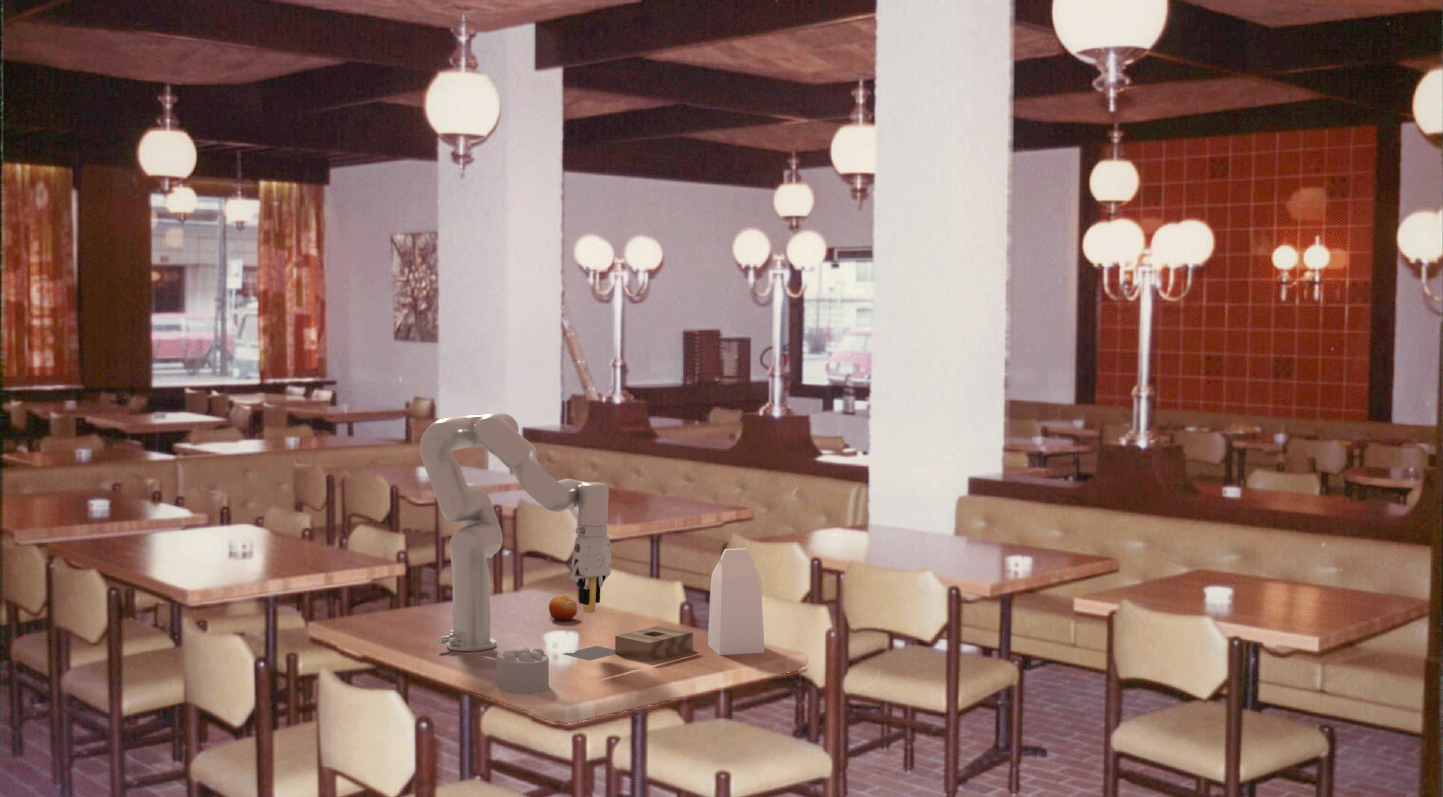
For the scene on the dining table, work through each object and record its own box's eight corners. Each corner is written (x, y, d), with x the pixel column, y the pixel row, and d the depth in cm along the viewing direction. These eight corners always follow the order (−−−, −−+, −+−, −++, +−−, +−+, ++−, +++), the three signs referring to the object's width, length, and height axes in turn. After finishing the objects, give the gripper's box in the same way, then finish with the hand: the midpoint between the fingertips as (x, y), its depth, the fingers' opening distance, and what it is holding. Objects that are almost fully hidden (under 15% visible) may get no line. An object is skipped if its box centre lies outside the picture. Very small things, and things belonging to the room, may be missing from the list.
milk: (719, 655, 332) (719, 553, 331) (707, 645, 343) (708, 546, 342) (764, 652, 335) (764, 551, 334) (751, 642, 346) (751, 544, 345)
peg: (588, 613, 330) (590, 576, 330) (580, 611, 332) (582, 574, 332) (597, 611, 332) (599, 574, 332) (589, 609, 334) (591, 573, 334)
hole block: (649, 663, 324) (649, 643, 323) (615, 655, 332) (615, 635, 331) (692, 651, 336) (692, 632, 336) (659, 644, 344) (659, 625, 343)
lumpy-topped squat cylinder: (530, 678, 309) (530, 642, 309) (559, 690, 299) (559, 652, 298) (491, 685, 302) (491, 648, 302) (519, 697, 292) (519, 659, 292)
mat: (589, 661, 325) (589, 660, 325) (562, 655, 331) (562, 653, 331) (623, 653, 334) (623, 651, 334) (596, 647, 340) (596, 645, 340)
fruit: (557, 610, 381) (567, 588, 378) (574, 626, 377) (585, 605, 374) (537, 614, 374) (548, 592, 372) (555, 632, 371) (566, 609, 368)
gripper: (578, 536, 323) (575, 609, 324) (625, 530, 335) (622, 601, 336) (558, 532, 328) (555, 604, 329) (605, 526, 340) (602, 596, 341)
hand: (589, 602), depth 332 cm, fingers closed on peg, 3 cm apart
